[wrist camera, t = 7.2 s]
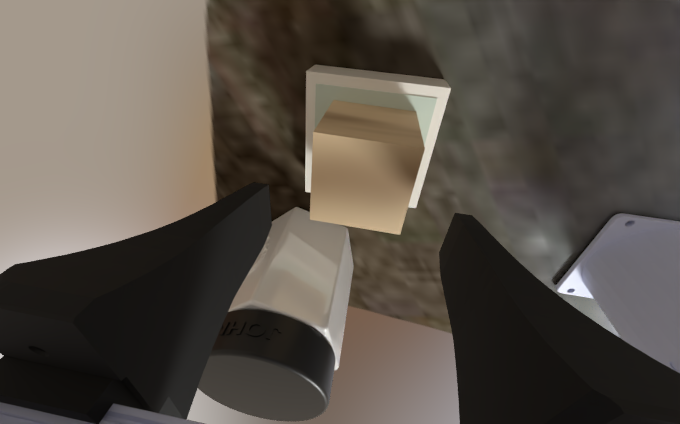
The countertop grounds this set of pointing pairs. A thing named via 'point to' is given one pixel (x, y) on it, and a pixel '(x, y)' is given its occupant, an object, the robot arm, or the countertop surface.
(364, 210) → the oak block
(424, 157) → the tile base
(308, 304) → the jar
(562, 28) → the countertop surface
